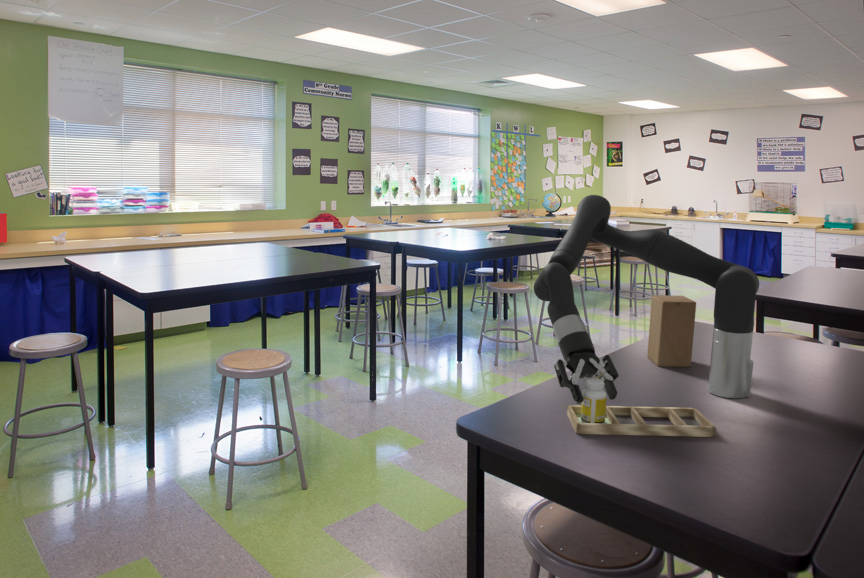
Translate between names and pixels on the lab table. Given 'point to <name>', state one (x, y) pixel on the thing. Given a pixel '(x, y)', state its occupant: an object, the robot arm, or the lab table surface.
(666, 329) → the wooden block
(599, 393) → the supplement bottle
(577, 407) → the wooden compartment tray
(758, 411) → the lab table surface
